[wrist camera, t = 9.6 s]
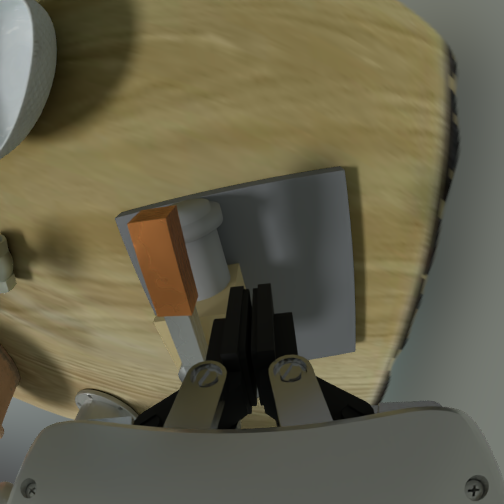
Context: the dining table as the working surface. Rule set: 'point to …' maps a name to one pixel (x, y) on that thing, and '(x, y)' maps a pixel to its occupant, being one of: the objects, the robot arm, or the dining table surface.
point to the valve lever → (170, 280)
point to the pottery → (6, 383)
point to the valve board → (270, 254)
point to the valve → (6, 267)
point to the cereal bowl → (24, 68)
